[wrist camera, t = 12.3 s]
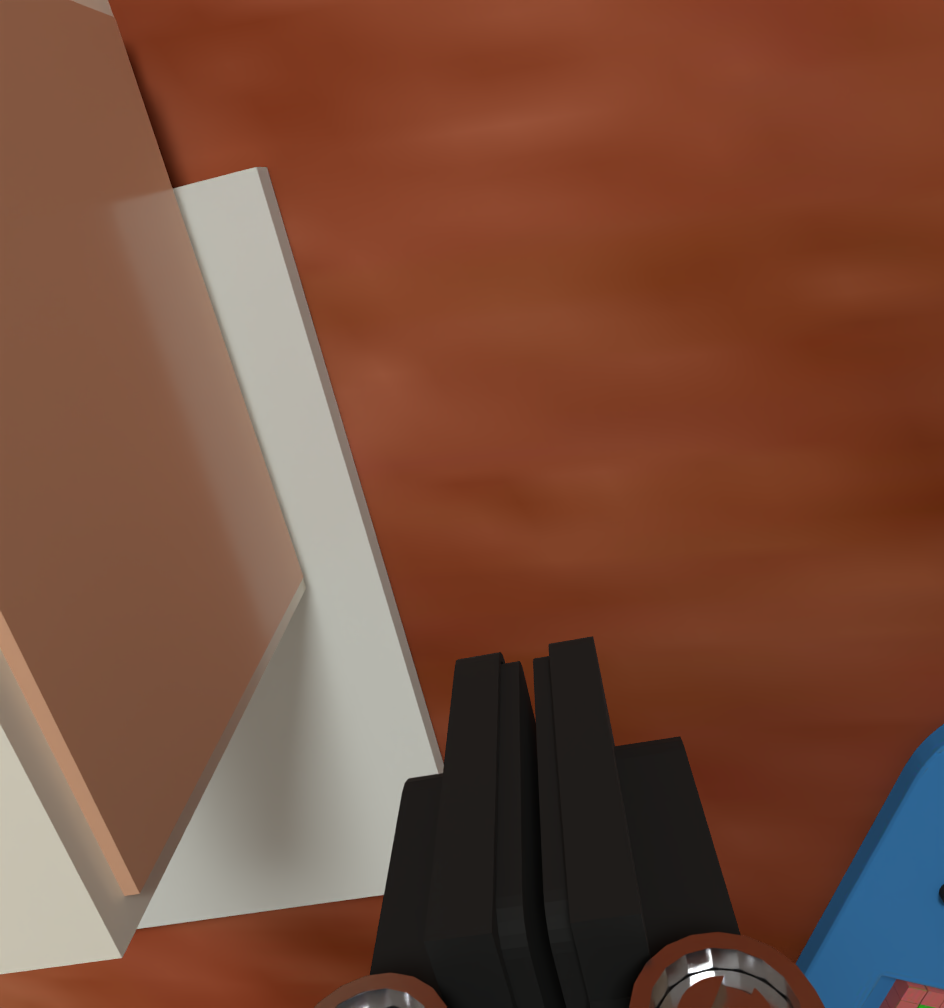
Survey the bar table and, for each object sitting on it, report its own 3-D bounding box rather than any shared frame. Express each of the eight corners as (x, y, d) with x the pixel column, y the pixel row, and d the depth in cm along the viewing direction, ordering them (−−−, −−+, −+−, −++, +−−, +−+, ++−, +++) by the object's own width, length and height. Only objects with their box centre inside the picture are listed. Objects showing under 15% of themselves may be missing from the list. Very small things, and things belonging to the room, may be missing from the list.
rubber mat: (267, 167, 14) (256, 167, 13) (472, 861, 19) (471, 882, 18) (-356, 327, 15) (-390, 333, 15) (-4, 929, 20) (-19, 950, 20)
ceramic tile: (116, -9, 12) (-500, -287, 5) (314, 585, 16) (137, 955, 8) (-16, 30, 12) (-792, -176, 5) (207, 605, 16) (-57, 981, 9)
